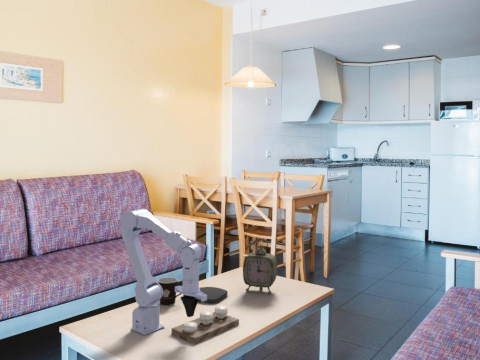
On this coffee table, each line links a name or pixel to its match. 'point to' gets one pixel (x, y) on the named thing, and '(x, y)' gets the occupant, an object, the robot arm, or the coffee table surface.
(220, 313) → the knob far
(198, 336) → the brown wooden board
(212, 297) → the media streaming box
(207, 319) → the knob middle
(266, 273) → the tabletop clock
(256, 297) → the coffee table surface
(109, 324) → the coffee table surface
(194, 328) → the knob near
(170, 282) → the coffee mug
